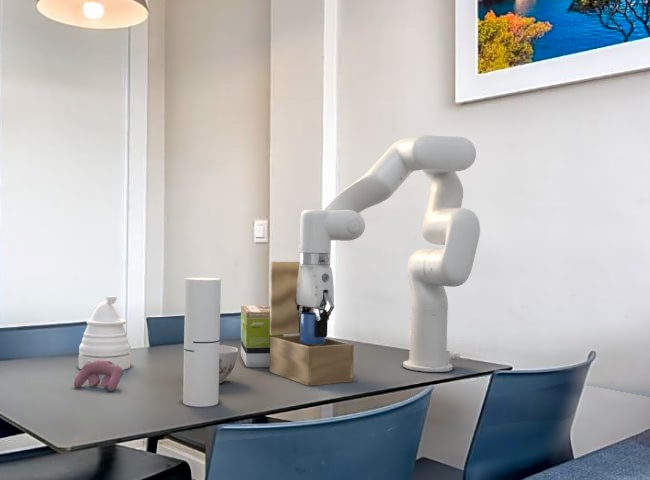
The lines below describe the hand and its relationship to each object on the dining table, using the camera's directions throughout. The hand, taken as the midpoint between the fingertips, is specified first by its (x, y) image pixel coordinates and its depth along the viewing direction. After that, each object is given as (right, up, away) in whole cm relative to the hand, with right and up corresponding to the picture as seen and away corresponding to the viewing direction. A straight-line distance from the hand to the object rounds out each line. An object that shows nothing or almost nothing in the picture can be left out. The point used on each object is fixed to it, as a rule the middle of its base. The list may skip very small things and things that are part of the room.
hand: (312, 334), depth 163 cm
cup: (0, -2, 0) cm, 2 cm away
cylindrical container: (-25, -11, -27) cm, 38 cm away
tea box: (-12, -10, +19) cm, 25 cm away
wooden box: (-1, -10, +1) cm, 11 cm away
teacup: (-25, -10, -6) cm, 28 cm away
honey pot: (-52, -10, +9) cm, 54 cm away
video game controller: (-48, -10, -15) cm, 52 cm away
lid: (-4, +8, +8) cm, 12 cm away
